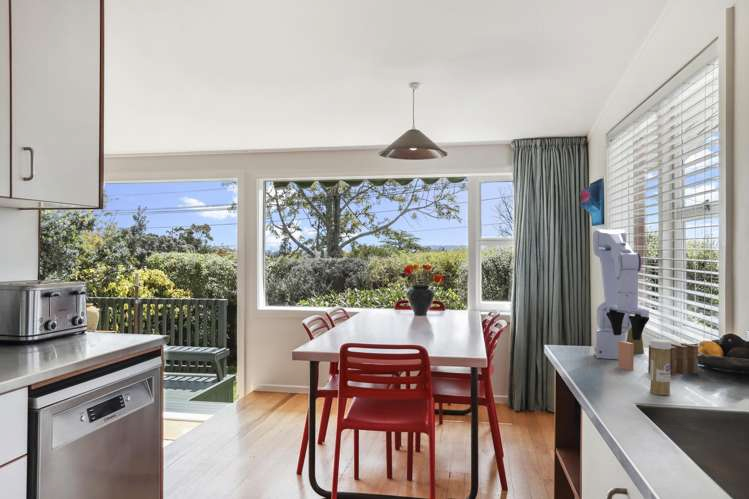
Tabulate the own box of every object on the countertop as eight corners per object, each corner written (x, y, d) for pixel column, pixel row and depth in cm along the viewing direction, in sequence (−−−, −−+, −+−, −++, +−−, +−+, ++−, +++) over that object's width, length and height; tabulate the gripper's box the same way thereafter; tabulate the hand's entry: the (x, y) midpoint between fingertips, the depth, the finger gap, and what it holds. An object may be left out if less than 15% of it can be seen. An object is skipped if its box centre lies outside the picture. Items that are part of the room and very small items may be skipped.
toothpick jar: (665, 397, 124) (666, 342, 124) (646, 392, 127) (647, 339, 127) (673, 394, 126) (674, 340, 126) (654, 389, 130) (655, 337, 130)
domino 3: (672, 375, 145) (672, 347, 145) (659, 371, 149) (659, 344, 149) (676, 374, 146) (676, 347, 145) (663, 371, 150) (663, 344, 150)
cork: (647, 354, 173) (648, 322, 173) (629, 353, 173) (630, 321, 173) (638, 350, 179) (639, 319, 179) (621, 350, 179) (622, 319, 179)
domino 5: (693, 373, 147) (694, 346, 147) (680, 369, 152) (681, 343, 152) (697, 373, 148) (698, 345, 148) (684, 369, 152) (684, 343, 152)
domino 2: (660, 376, 144) (661, 348, 144) (648, 372, 148) (648, 345, 148) (665, 375, 144) (665, 347, 144) (652, 371, 149) (652, 344, 149)
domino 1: (629, 370, 150) (629, 343, 150) (618, 366, 154) (618, 340, 154) (633, 370, 151) (633, 343, 150) (622, 366, 155) (622, 340, 155)
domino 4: (683, 374, 146) (683, 346, 146) (670, 370, 151) (670, 343, 150) (687, 373, 147) (687, 346, 147) (674, 370, 151) (674, 343, 151)
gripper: (599, 290, 158) (598, 333, 158) (635, 295, 144) (634, 342, 144) (617, 290, 160) (617, 332, 160) (655, 294, 146) (654, 341, 146)
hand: (626, 337), depth 152 cm, fingers open, 7 cm apart
